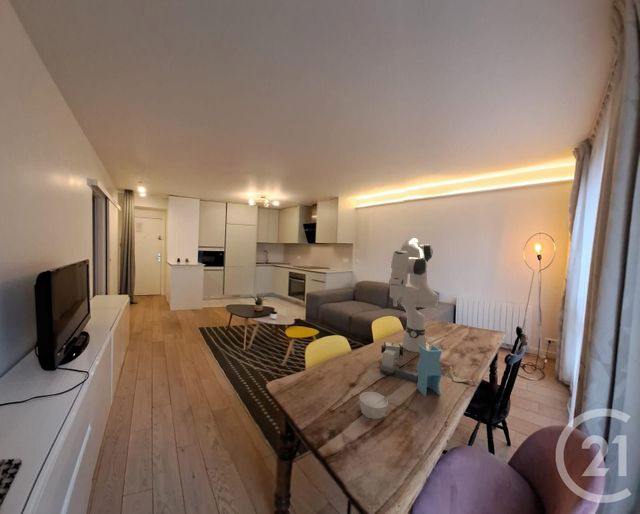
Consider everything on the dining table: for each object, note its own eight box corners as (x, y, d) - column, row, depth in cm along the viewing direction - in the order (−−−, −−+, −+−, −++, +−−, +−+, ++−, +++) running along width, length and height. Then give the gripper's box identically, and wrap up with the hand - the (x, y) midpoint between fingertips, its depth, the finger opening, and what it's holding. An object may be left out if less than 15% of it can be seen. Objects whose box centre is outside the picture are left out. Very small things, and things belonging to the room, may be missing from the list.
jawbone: (457, 387, 130) (457, 383, 130) (435, 368, 151) (435, 365, 151) (474, 385, 131) (474, 381, 131) (450, 367, 152) (450, 364, 152)
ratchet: (383, 367, 146) (384, 353, 146) (431, 380, 133) (432, 366, 133) (378, 372, 139) (379, 358, 139) (428, 387, 126) (429, 372, 126)
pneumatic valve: (402, 366, 148) (403, 345, 147) (380, 364, 150) (382, 342, 150) (401, 362, 153) (402, 342, 153) (380, 360, 156) (381, 339, 155)
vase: (430, 385, 128) (433, 344, 128) (440, 394, 120) (443, 351, 120) (415, 386, 127) (417, 344, 126) (424, 395, 119) (427, 351, 118)
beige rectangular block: (385, 362, 144) (386, 349, 144) (395, 365, 141) (396, 351, 141) (382, 366, 139) (383, 352, 139) (392, 368, 137) (393, 355, 136)
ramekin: (388, 423, 99) (389, 409, 99) (358, 418, 101) (358, 405, 100) (386, 406, 110) (387, 393, 110) (358, 402, 112) (359, 389, 111)
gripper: (398, 278, 158) (396, 301, 158) (388, 280, 140) (386, 306, 141) (409, 279, 155) (407, 302, 155) (400, 282, 137) (398, 308, 137)
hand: (397, 304), depth 148 cm, fingers open, 8 cm apart
